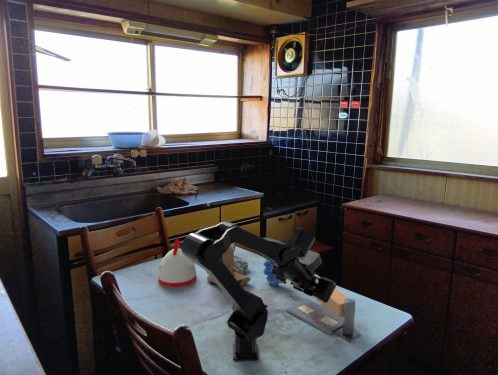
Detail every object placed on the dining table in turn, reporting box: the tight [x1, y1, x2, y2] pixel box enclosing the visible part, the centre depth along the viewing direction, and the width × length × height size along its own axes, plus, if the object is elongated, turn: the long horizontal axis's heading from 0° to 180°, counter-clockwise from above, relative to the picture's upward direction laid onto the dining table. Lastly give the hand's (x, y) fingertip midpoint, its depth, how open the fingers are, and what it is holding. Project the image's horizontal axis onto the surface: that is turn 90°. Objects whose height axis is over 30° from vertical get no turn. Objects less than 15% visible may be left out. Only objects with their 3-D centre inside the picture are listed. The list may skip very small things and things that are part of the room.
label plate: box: [285, 298, 343, 336], centre depth 116 cm, size 17×10×1 cm, turn 41°
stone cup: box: [206, 245, 251, 287], centre depth 137 cm, size 15×12×15 cm
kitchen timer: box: [157, 238, 197, 288], centre depth 141 cm, size 14×14×15 cm
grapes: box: [262, 259, 282, 286], centre depth 137 cm, size 12×7×12 cm, turn 44°
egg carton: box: [233, 256, 250, 275], centre depth 151 cm, size 11×8×4 cm
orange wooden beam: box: [312, 273, 356, 334], centre depth 116 cm, size 24×5×9 cm, turn 23°
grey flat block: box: [334, 328, 361, 343], centre depth 107 cm, size 5×5×1 cm
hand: (316, 293), depth 116 cm, fingers closed
